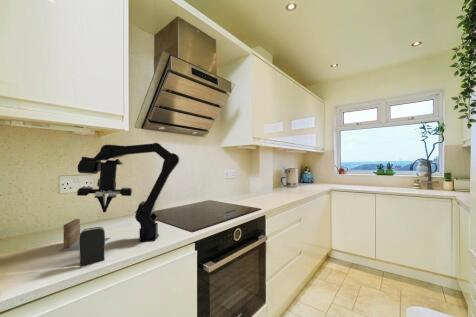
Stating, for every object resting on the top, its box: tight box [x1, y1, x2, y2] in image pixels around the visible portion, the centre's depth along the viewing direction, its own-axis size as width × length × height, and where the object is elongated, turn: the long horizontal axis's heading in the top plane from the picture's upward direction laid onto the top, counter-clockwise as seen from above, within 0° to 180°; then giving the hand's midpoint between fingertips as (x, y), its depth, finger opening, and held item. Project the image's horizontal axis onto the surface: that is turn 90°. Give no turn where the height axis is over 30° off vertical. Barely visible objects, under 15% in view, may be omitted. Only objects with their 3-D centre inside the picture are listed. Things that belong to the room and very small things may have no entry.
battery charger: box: [79, 226, 106, 267], centre depth 69 cm, size 7×4×11 cm, turn 124°
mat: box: [57, 237, 111, 252], centre depth 83 cm, size 13×12×1 cm
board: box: [63, 218, 81, 249], centre depth 83 cm, size 2×8×9 cm, turn 12°
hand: (104, 212), depth 85 cm, fingers closed
